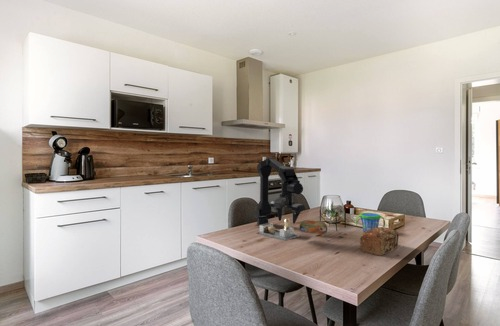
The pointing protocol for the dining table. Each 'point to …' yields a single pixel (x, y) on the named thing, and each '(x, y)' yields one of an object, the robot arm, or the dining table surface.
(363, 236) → the bread
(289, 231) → the jaw
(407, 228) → the dining table surface
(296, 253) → the dining table surface
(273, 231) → the walnut
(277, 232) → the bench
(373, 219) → the snack cup
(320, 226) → the tin
